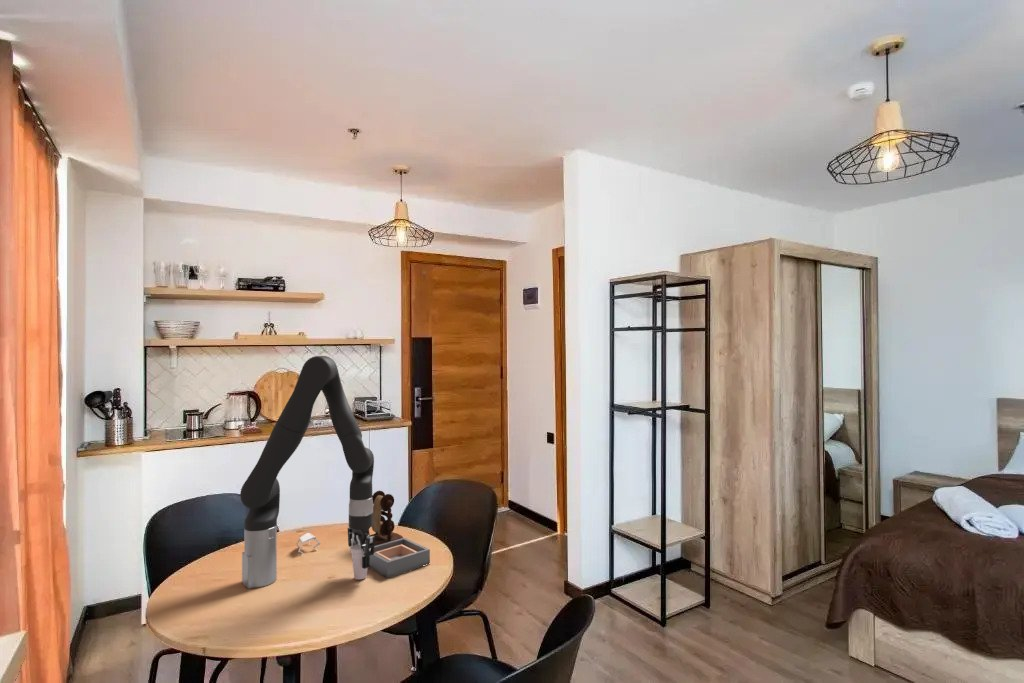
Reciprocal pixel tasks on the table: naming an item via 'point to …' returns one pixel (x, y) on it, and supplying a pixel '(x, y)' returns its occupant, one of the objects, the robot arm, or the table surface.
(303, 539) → the origami figure
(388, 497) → the scroll
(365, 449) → the robot arm
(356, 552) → the smoothie
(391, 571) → the socket box
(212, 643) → the table surface
